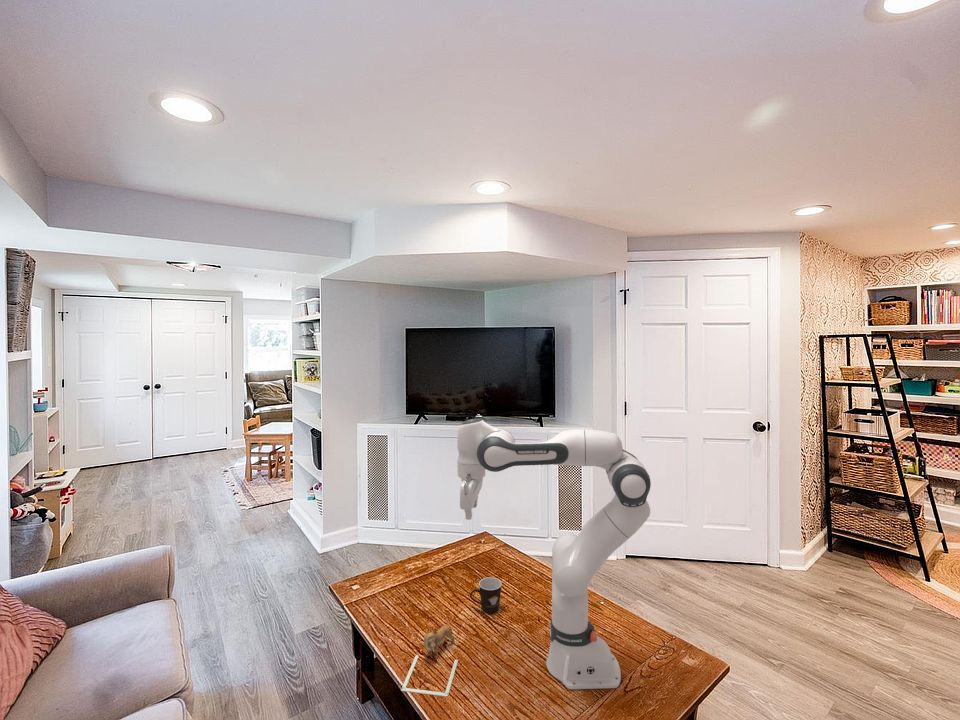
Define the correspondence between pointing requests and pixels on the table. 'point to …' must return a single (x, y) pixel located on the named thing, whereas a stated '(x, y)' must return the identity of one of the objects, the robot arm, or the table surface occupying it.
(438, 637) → the lion figurine
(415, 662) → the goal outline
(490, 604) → the coffee mug
